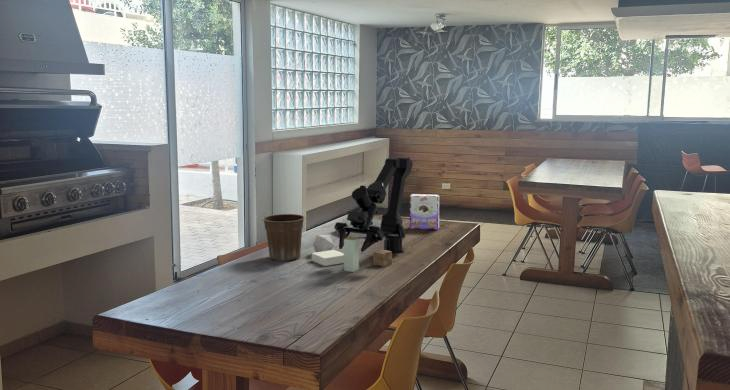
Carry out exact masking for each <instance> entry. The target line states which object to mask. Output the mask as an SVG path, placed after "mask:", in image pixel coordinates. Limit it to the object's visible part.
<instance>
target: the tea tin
mask: <svg viewBox="0 0 730 390" xmlns="http://www.w3.org/2000/svg"><path fill="white" fill-rule="evenodd" d="M343 253H344V263H343V271H344V272H350V273H352V272H353V273H354V272H357V271H359V270H360V238H359V237H347V238H345V239H344V246H343Z"/></svg>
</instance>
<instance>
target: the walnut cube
mask: <svg viewBox="0 0 730 390" xmlns="http://www.w3.org/2000/svg"><path fill="white" fill-rule="evenodd" d="M372 254H373V255H372V256H373V257H372V260H373V261H372V262H373V263H372V265H374V266H378V265H379V266H380V267H387V266H390V265H393V253H392V251H387V250H383V249H379V250H374V251H373V253H372ZM379 266H378V267H379Z"/></svg>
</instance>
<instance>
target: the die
mask: <svg viewBox="0 0 730 390" xmlns="http://www.w3.org/2000/svg"><path fill="white" fill-rule="evenodd" d="M312 246H313V248H314V252H315V253H316V252H322V251H329V250H334V246H335V245H334V243H333V239H332V237H331V235H330V234H318V235H316V236H315V239H314V241H313V243H312Z"/></svg>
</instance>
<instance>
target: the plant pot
mask: <svg viewBox="0 0 730 390" xmlns="http://www.w3.org/2000/svg"><path fill="white" fill-rule="evenodd" d="M304 220H305V216H304V215H303V214H302V215H301V214H296V213H295V214H293V213H282V214H272V215H267V216H264V217H262V221H263V223H264V224H263V225H264V230H265V232H266V239H267V247H268V255H269V258H270V260H274V261H277V262H288V261H294V260H297V259H299V258H301V253H302V252H301V251H302V250H301V249H302V238H303V237H302V233H303V228H304Z"/></svg>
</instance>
